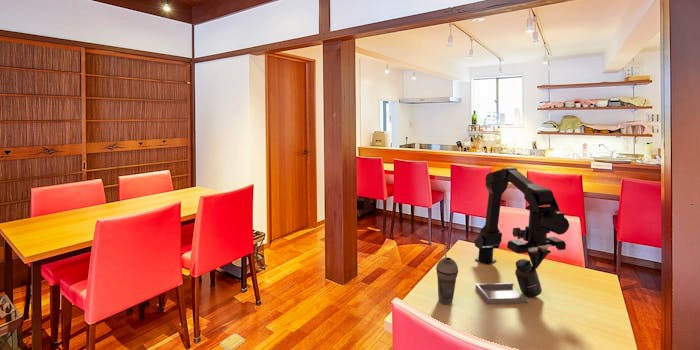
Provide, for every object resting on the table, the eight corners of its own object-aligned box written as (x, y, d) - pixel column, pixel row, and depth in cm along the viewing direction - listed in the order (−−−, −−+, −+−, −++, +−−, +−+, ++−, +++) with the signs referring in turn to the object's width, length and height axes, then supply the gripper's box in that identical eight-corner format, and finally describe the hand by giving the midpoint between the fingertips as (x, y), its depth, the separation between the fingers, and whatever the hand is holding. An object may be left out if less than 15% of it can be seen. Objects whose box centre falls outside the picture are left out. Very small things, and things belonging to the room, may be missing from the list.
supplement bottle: (534, 300, 120) (524, 270, 118) (517, 293, 126) (507, 265, 124) (546, 289, 123) (537, 259, 120) (529, 283, 129) (520, 255, 127)
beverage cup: (453, 309, 116) (456, 251, 112) (431, 303, 120) (434, 247, 116) (459, 299, 122) (462, 244, 118) (438, 293, 126) (440, 240, 122)
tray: (511, 287, 130) (512, 282, 129) (527, 303, 120) (528, 297, 119) (475, 289, 129) (476, 283, 129) (488, 304, 119) (488, 298, 118)
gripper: (545, 217, 130) (542, 257, 132) (499, 220, 127) (496, 261, 129) (569, 226, 119) (565, 269, 121) (519, 229, 116) (516, 274, 118)
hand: (534, 268), depth 123 cm, fingers closed, pressing on supplement bottle
